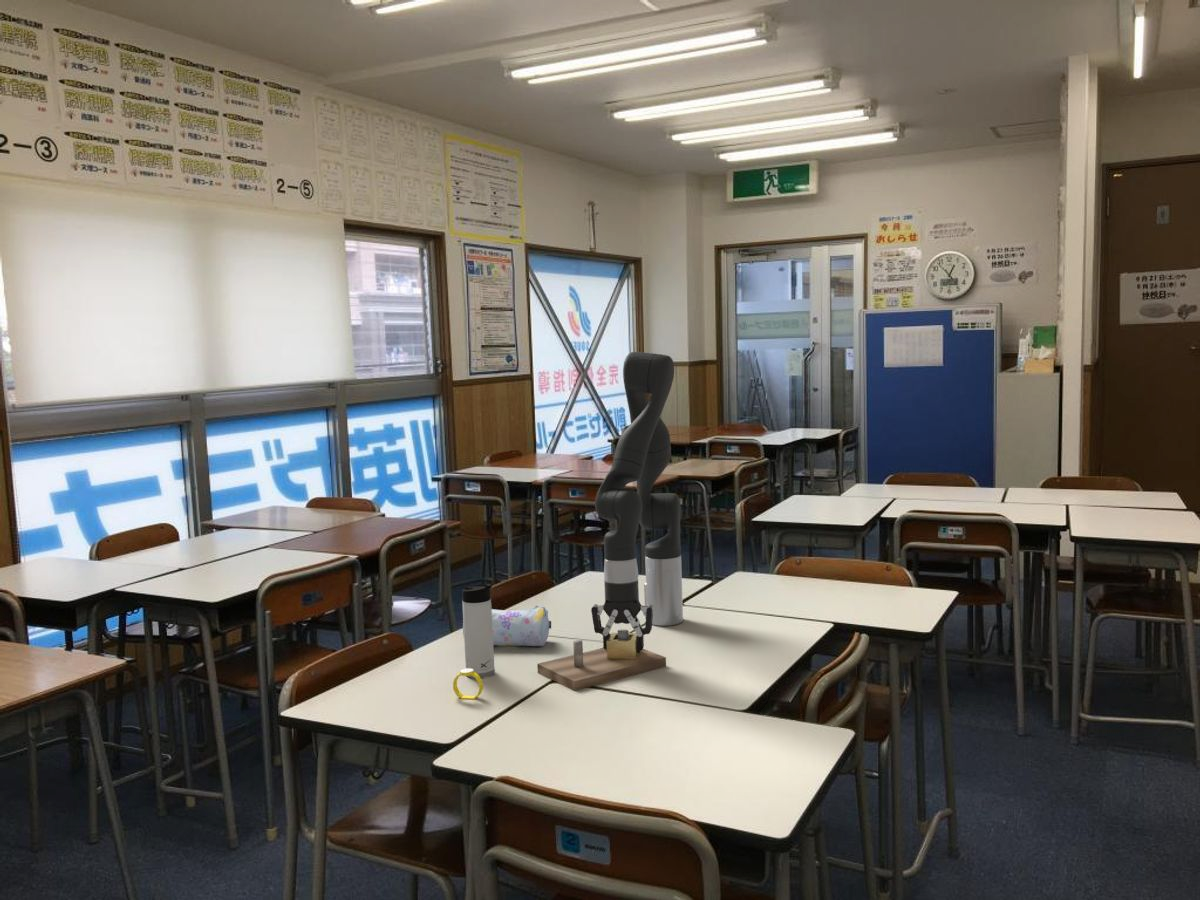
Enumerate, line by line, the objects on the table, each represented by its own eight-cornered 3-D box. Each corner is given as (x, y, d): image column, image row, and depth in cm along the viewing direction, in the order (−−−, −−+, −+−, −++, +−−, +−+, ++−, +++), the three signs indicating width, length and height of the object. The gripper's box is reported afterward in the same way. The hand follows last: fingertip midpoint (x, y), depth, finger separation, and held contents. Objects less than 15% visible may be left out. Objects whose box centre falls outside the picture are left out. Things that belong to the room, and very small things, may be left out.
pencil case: (552, 639, 235) (551, 601, 234) (546, 650, 226) (544, 611, 225) (470, 639, 237) (468, 602, 236) (460, 650, 229) (458, 611, 228)
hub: (615, 657, 212) (614, 632, 212) (618, 652, 215) (617, 628, 215) (629, 657, 211) (628, 633, 211) (632, 652, 215) (631, 628, 214)
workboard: (537, 672, 210) (536, 639, 209) (626, 650, 223) (625, 619, 222) (574, 690, 197) (573, 655, 197) (666, 666, 211) (665, 632, 210)
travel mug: (491, 679, 207) (486, 588, 205) (462, 678, 208) (457, 588, 206) (499, 669, 213) (495, 581, 211) (471, 668, 214) (467, 581, 212)
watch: (453, 701, 195) (449, 673, 194) (458, 696, 197) (454, 668, 197) (481, 700, 193) (477, 671, 193) (485, 695, 196) (482, 667, 196)
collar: (607, 658, 211) (606, 641, 210) (612, 649, 217) (611, 632, 217) (635, 659, 210) (635, 641, 209) (640, 650, 216) (639, 633, 215)
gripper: (585, 581, 209) (589, 656, 211) (651, 582, 207) (653, 657, 208) (592, 573, 217) (595, 646, 218) (655, 574, 214) (658, 647, 216)
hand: (623, 651), depth 213 cm, fingers closed on collar, 6 cm apart
